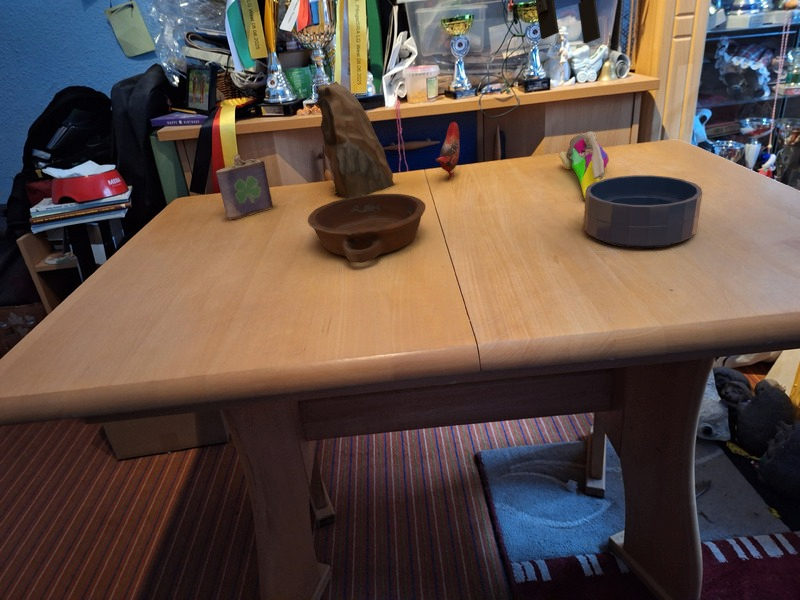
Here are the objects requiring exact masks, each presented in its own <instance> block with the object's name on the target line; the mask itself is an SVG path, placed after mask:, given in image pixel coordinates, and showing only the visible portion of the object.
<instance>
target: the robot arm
mask: <svg viewBox="0 0 800 600" xmlns="http://www.w3.org/2000/svg"><path fill="white" fill-rule="evenodd" d="M579 1H580V2H578V3H577V7H578V12H579V20H580V26H581V35H582V41H583V44H588V43H591V42H593V41H596V40H599V39H601V31H600V25H599V23H600V22H599V16H598V9H597V1H596V0H579ZM534 3H535V8H536V15H537V22H538V29H539V34H540V39H541V40H545V39H548V38H550V37H552V36H554V35H556V34H559V33H560V29H559V23H558V17H557V10H556V4H555V3H556V2H555V0H534Z"/></svg>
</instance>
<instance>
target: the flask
mask: <svg viewBox="0 0 800 600" xmlns="http://www.w3.org/2000/svg"><path fill="white" fill-rule="evenodd" d="M231 159H233V160H234V161H233V163H232V164H233V165H231V166H228V167H224V168H221V169H218V170H216V172H215V175H216V179H217V183H218V187H219V191H220V195H221V199H222V203H223V207H224V212H225V216H226V219H227V220H229V221H232V220H238V219H242V218H244V217H248V216H251V215H254V214H256V213H261V212H264V211H267V210H271V209H273V208H274V205H273V200H272V194H271V190H270V185H269V180H268V174H267V170H266V164H265V161H264V160H261V159H253V158H251V159H247V160H244V159H242V158H241V156H240V154H235V155H233V156H231Z"/></svg>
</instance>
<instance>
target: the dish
mask: <svg viewBox="0 0 800 600" xmlns="http://www.w3.org/2000/svg"><path fill="white" fill-rule="evenodd" d="M426 206H427V205H426V203H425V202H424V201H423V200H422V199H421V198H419V197H417V196H414V195H409V194H404V193H403V194H402V193H375V194H365V195H362V196H358V197H352V198H343V199H337V200H334V201H331V202H329V203H326V204H323V205H321V206H319V207H316V208H315V209H313V211H312V212H311V213H310V214H309V216H308V217H307V223H308V225H309V226H310V227H311V228H312V229H313V230H314V233H315V234H316V237H317V238H318V240H319V242H320V244H321V245H322V246H323V247H324V248H325V249H326V250H327V251H329V252H331V253H332V254H333V253H334V254H336V255H339V256H342V257H343V256H344V257H346V258H347V260H348V261H350V262H351V263H357V264H358V263H366V262H369V261H371V260H373V259H376V258H377V257H378V256H379V255H384V254H387V253H390V252H393V251H396V250H399V249H401V248H403V247H404V246H406V245H408V244H409V243H410V242H411V241H412V240H414V238H415V237H416V235H417V233H418V230H419V226H420V223H421V219H422V216H424V213H425V211H426V208H427V207H426Z"/></svg>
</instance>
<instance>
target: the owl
mask: <svg viewBox="0 0 800 600" xmlns="http://www.w3.org/2000/svg"><path fill="white" fill-rule="evenodd" d="M315 93H316V94H317V100H316V101H315V102H316V104H317V106H318V107H319V110H320V113H321V122H320V131H321V133H322V137H323V146H324V148H323V149H324V155H325V156H326V158H327V159H328V161H329V165H330V166H329V167H330V170H331V173H332V176H333V185H334V189H335V190H334V192H335V193H334V196H337V197H339V198H343V199H346V198H352V197H358V196H365V195H371V193H374V192H377V191H381V190H384V189H387V188H389V187H392V186H395V182H394V180H393V178H394V174H393V172H392V170H391V168H390V165H389V163H388V160H387V157H386V152H385V150H384V147H383V145H382V144H381V142H380V140H379V138H378V136H377V135H376V132H375V129H374V128H373V125H372V122H371V120H370V117H369V116H368V114H367V113H366V111H365V109H364V107H363V105H362V104H361V102H360V101H359V100H358V98H357V97H356V96H355V95H354V94H353V92H351V91H350V90H349V89H348V88H346V86H344V85H342V84H339V82H338V81H334V82H333V83H330V84H328V83H322V84H320V85H319V86H318V87H317V88H316V90H315Z"/></svg>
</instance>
